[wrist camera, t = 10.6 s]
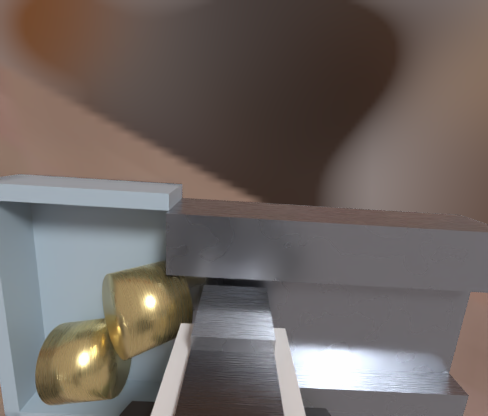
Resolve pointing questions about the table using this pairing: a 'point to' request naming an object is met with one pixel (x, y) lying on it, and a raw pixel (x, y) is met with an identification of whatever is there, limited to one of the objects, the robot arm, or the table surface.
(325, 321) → the slot board
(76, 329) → the gold dome knob
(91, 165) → the table surface
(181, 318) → the brass round knob
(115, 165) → the table surface
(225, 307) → the stepped gray block
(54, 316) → the tray
